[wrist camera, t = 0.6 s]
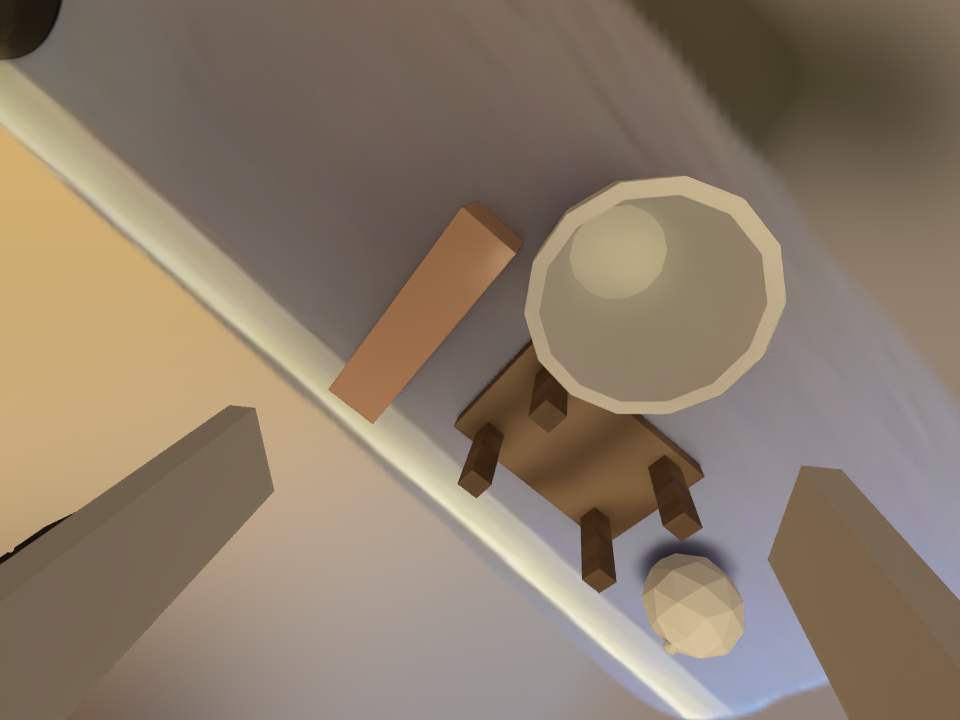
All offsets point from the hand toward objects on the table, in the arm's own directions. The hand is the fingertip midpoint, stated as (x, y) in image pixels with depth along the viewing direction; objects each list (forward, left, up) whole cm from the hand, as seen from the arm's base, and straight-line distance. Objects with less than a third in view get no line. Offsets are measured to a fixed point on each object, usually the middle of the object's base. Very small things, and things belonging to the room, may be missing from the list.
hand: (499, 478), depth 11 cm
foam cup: (+2, +4, -22) cm, 22 cm away
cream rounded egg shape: (+25, -11, -22) cm, 35 cm away
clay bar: (-5, -7, -22) cm, 23 cm away
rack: (+10, -8, -21) cm, 25 cm away
